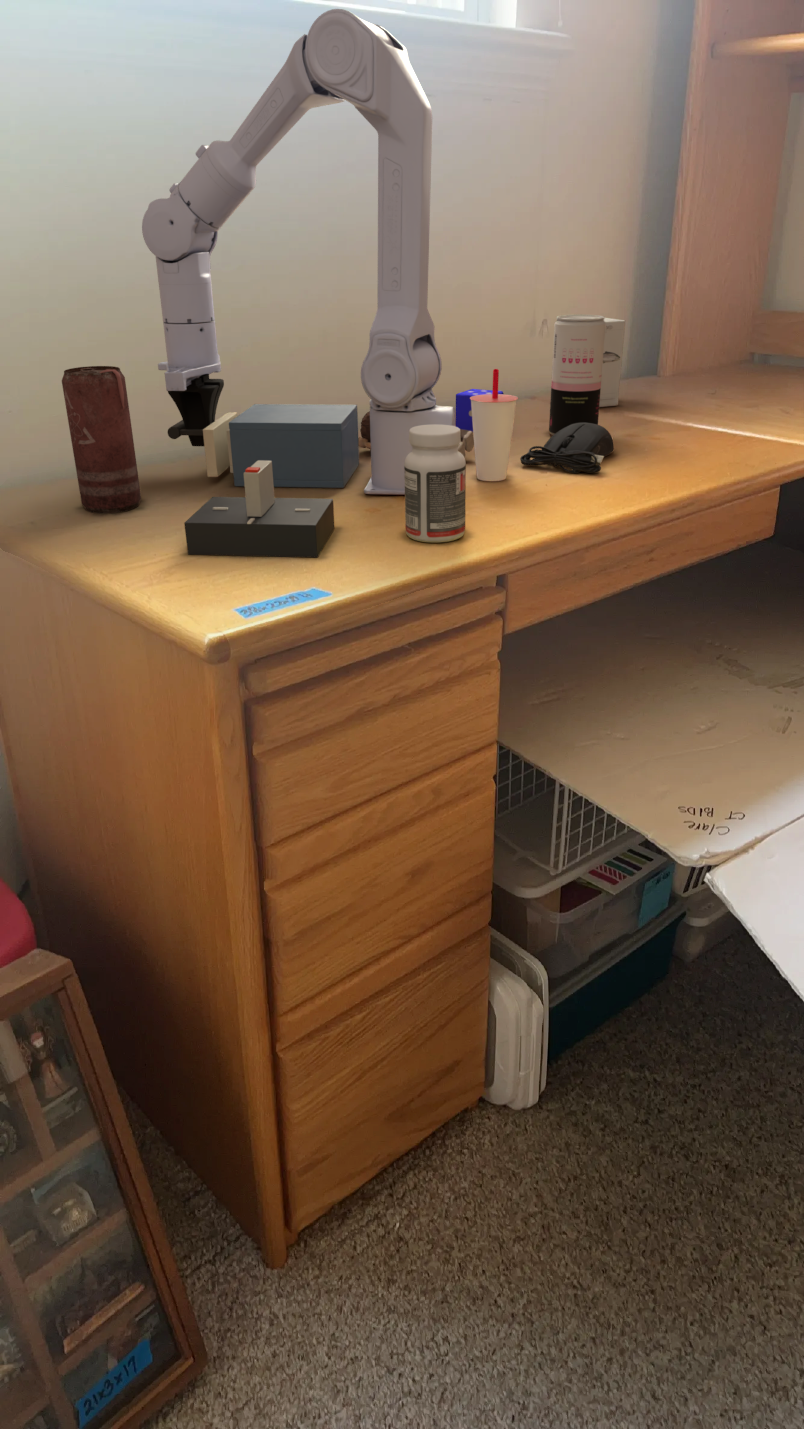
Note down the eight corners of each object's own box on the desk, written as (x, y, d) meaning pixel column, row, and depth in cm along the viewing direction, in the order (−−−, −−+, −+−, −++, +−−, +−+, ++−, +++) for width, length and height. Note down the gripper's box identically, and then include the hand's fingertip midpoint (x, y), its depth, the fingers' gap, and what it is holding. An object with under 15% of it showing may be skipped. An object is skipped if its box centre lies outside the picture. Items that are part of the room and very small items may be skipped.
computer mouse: (636, 451, 125) (639, 420, 123) (596, 476, 114) (599, 442, 112) (561, 443, 129) (563, 413, 128) (516, 467, 118) (517, 434, 116)
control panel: (334, 528, 96) (333, 496, 95) (317, 558, 88) (315, 523, 87) (215, 526, 98) (212, 494, 96) (187, 555, 89) (183, 521, 88)
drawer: (165, 476, 113) (160, 428, 110) (193, 455, 122) (188, 411, 119) (306, 478, 111) (303, 430, 108) (323, 457, 120) (321, 412, 118)
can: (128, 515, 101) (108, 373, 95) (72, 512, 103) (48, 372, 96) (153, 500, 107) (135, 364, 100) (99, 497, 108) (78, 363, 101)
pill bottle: (472, 529, 95) (474, 424, 91) (455, 546, 91) (457, 437, 86) (415, 524, 97) (415, 421, 93) (396, 541, 92) (395, 433, 88)
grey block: (260, 502, 94) (257, 457, 92) (275, 502, 94) (271, 457, 92) (247, 516, 89) (242, 470, 87) (262, 517, 89) (258, 470, 87)
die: (454, 430, 138) (455, 393, 136) (471, 424, 142) (471, 388, 139) (486, 433, 136) (487, 396, 133) (502, 427, 139) (503, 390, 137)
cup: (510, 484, 111) (514, 373, 105) (463, 482, 112) (465, 371, 106) (518, 473, 115) (522, 365, 110) (473, 471, 117) (475, 364, 111)
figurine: (481, 468, 126) (381, 448, 132) (488, 425, 124) (387, 407, 130) (454, 470, 119) (350, 449, 125) (460, 425, 117) (355, 406, 123)
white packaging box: (580, 410, 150) (586, 322, 144) (553, 403, 156) (557, 317, 150) (619, 406, 153) (627, 319, 147) (590, 399, 159) (597, 315, 153)
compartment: (234, 486, 112) (228, 422, 108) (258, 462, 122) (254, 403, 119) (343, 488, 110) (341, 423, 107) (359, 464, 121) (357, 404, 117)
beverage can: (553, 428, 138) (559, 314, 132) (600, 430, 136) (609, 314, 130) (544, 437, 133) (550, 318, 126) (593, 440, 131) (602, 319, 124)
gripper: (175, 315, 116) (187, 432, 123) (131, 328, 104) (148, 458, 110) (233, 315, 116) (242, 432, 122) (196, 328, 103) (209, 459, 109)
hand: (201, 445), depth 116 cm, fingers closed
